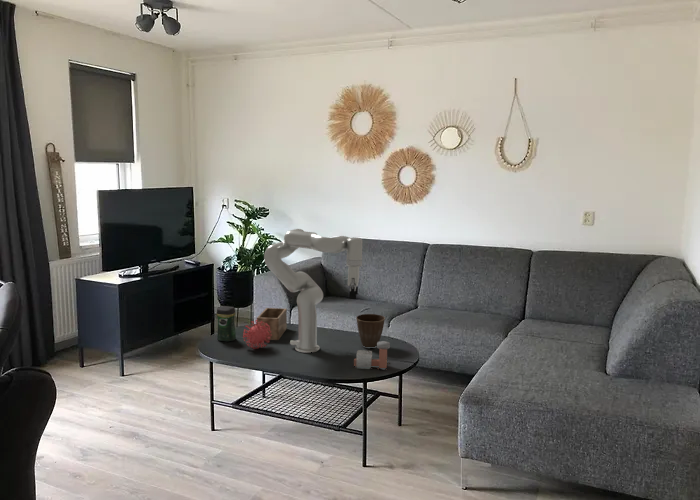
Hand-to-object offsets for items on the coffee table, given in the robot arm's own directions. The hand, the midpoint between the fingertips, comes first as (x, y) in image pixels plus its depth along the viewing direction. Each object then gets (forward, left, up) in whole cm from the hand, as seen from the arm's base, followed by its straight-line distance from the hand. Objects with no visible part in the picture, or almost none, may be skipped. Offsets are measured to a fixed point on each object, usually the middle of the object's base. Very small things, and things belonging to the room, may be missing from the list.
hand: (353, 296), depth 282 cm
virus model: (-50, +4, -30) cm, 59 cm away
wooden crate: (-48, +30, -30) cm, 64 cm away
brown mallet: (+10, -16, -30) cm, 36 cm away
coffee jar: (-70, +16, -30) cm, 78 cm away
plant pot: (+8, +14, -30) cm, 34 cm away
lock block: (+7, -16, -30) cm, 35 cm away
